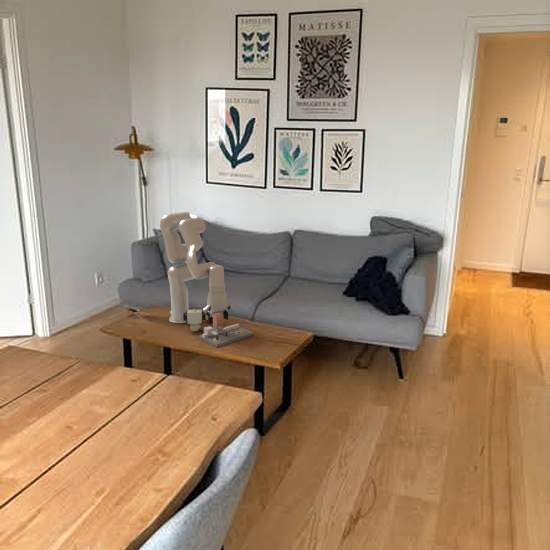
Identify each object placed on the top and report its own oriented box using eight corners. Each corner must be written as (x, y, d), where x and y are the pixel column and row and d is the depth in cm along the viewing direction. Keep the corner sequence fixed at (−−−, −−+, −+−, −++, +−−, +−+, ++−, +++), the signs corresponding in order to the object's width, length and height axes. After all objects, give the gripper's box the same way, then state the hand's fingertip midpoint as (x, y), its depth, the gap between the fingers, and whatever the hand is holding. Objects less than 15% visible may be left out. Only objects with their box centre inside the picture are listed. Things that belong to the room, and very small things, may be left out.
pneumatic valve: (206, 331, 288) (205, 310, 285) (184, 332, 288) (182, 310, 285) (206, 327, 294) (205, 306, 291) (184, 328, 293) (183, 307, 290)
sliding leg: (212, 332, 282) (212, 314, 280) (219, 330, 285) (218, 312, 282) (223, 337, 276) (223, 318, 273) (230, 335, 278) (229, 316, 276)
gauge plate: (198, 338, 279) (197, 327, 277) (234, 327, 295) (234, 316, 293) (216, 347, 268) (216, 336, 266) (253, 335, 283) (253, 324, 282)
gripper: (226, 284, 284) (227, 315, 289) (198, 291, 273) (200, 323, 277) (235, 287, 279) (236, 319, 283) (207, 294, 268) (208, 327, 272)
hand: (218, 321), depth 280 cm, fingers open, 9 cm apart
